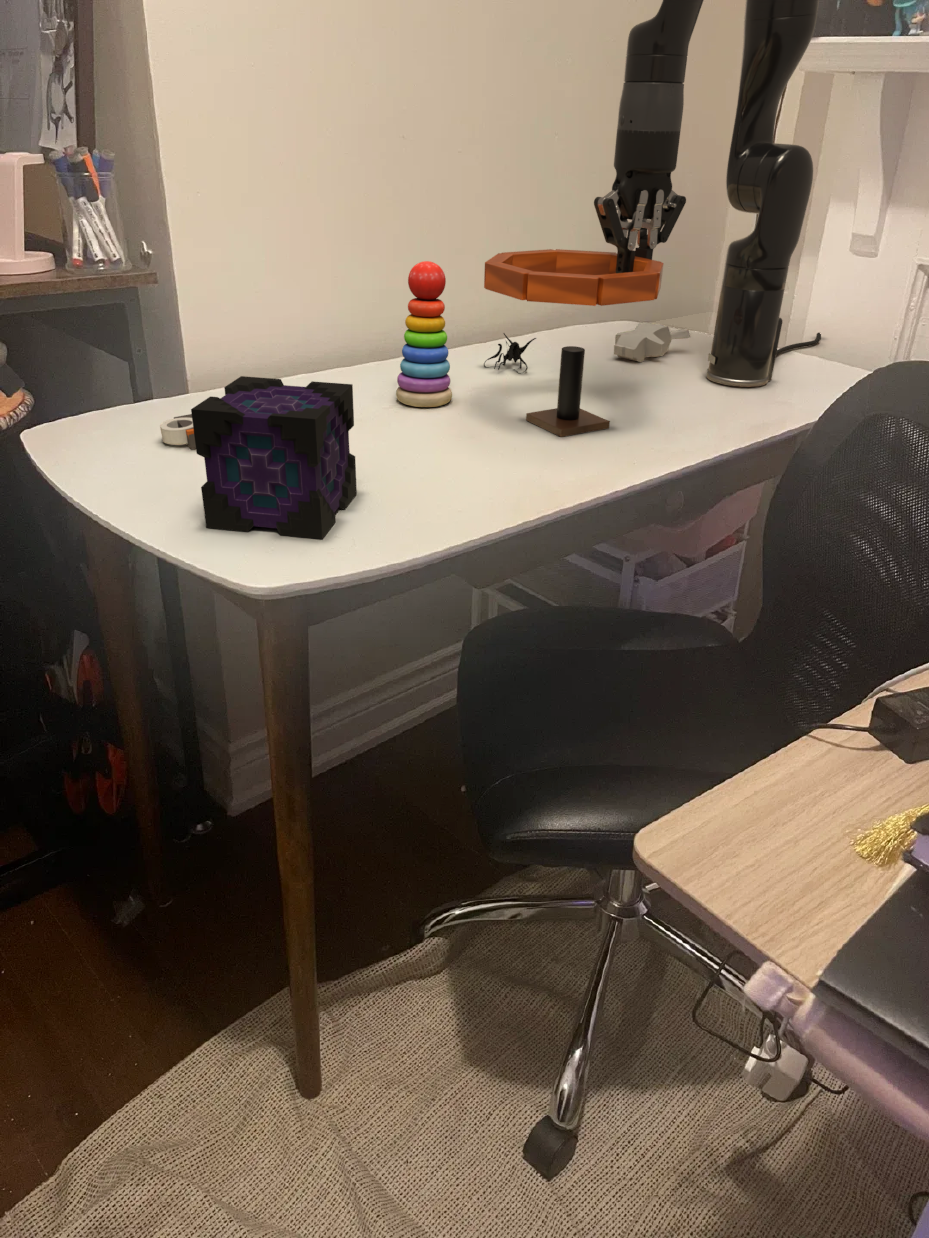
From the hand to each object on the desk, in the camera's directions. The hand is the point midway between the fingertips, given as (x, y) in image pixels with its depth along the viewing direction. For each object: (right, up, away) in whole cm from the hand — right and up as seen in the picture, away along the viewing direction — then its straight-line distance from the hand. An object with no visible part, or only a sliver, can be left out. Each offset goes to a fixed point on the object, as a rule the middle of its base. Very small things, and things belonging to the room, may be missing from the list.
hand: (632, 279), depth 116 cm
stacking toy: (-27, -13, +13) cm, 33 cm away
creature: (-15, -3, +30) cm, 33 cm away
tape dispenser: (-52, -21, -2) cm, 56 cm away
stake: (-8, -18, +5) cm, 20 cm away
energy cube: (-40, -33, -22) cm, 57 cm away
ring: (-8, -3, -4) cm, 10 cm away
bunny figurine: (+10, +2, +40) cm, 41 cm away
